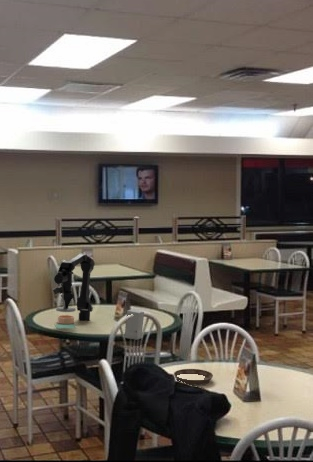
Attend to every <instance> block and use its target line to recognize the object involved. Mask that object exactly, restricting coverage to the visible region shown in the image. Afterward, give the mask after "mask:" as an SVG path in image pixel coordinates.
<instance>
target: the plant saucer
mask: <svg viewBox="0 0 313 462" xmlns="http://www.w3.org/2000/svg"><path fill="white" fill-rule="evenodd" d="M180 374H198V375H203V376H205V378H204V380H187V379H182V378H179V377H177V375H180ZM173 375H174V378H175V379H176V381H178V380H180V381H182V382H185V383H188V384H187V385H190V384H202V385H206V384H208V383H209V382H211V380H212V379H213V377H214V374H213V373H212V372H210V371H207V370H205V369H199V368H183V369H182V368H181V369H178V370H176V371H174V372H173ZM185 383H184V384H185ZM205 383H206V384H205Z"/></svg>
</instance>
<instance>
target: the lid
mask: <svg viewBox="0 0 313 462" xmlns="http://www.w3.org/2000/svg"><path fill="white" fill-rule="evenodd" d="M76 309H77V308H76V307H75V308H74V307H70V306H68V308H65V301H63V306H62V307H56V308H55V310H56V312H59V313H61V312H62V313H72V312H73V313H74V312H76Z"/></svg>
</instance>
